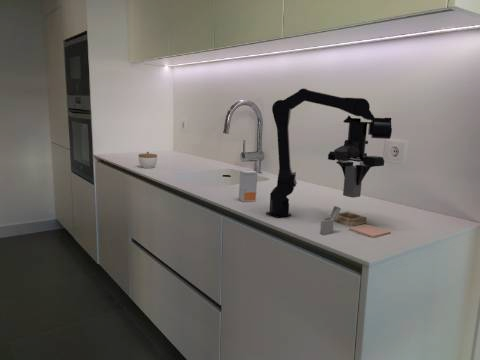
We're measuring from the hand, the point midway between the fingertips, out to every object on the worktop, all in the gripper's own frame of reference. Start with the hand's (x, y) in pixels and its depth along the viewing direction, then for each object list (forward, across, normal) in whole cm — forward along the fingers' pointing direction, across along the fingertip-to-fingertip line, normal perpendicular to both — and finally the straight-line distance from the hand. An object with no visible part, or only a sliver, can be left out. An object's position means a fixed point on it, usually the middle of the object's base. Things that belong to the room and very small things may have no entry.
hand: (352, 184), depth 134 cm
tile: (+13, +11, -4) cm, 17 cm away
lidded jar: (+13, -137, -12) cm, 138 cm away
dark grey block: (+4, 0, 0) cm, 4 cm away
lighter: (+13, +5, -16) cm, 21 cm away
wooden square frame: (+13, 0, 0) cm, 13 cm away
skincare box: (+13, -41, -12) cm, 45 cm away
